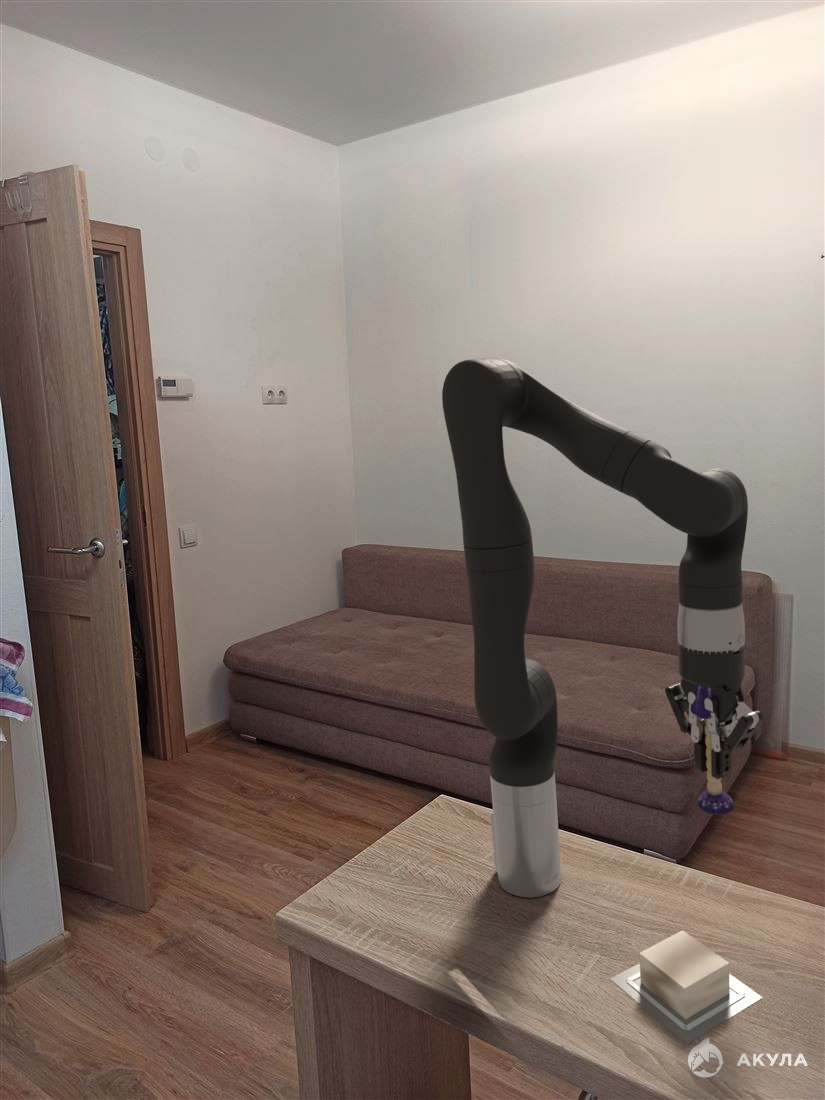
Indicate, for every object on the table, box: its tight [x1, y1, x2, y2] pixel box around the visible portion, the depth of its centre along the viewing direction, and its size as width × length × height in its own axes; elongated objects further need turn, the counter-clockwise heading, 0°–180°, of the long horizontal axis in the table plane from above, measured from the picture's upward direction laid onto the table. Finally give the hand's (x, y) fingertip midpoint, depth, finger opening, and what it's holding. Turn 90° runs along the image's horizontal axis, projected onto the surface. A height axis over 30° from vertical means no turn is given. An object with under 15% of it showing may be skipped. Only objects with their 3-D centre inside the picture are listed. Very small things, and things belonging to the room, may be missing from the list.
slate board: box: [609, 962, 764, 1045], centre depth 96 cm, size 12×12×1 cm
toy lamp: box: [690, 684, 735, 816], centre depth 100 cm, size 5×5×17 cm
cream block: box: [639, 930, 730, 1019], centre depth 96 cm, size 7×7×4 cm
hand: (712, 772), depth 101 cm, fingers closed on toy lamp
